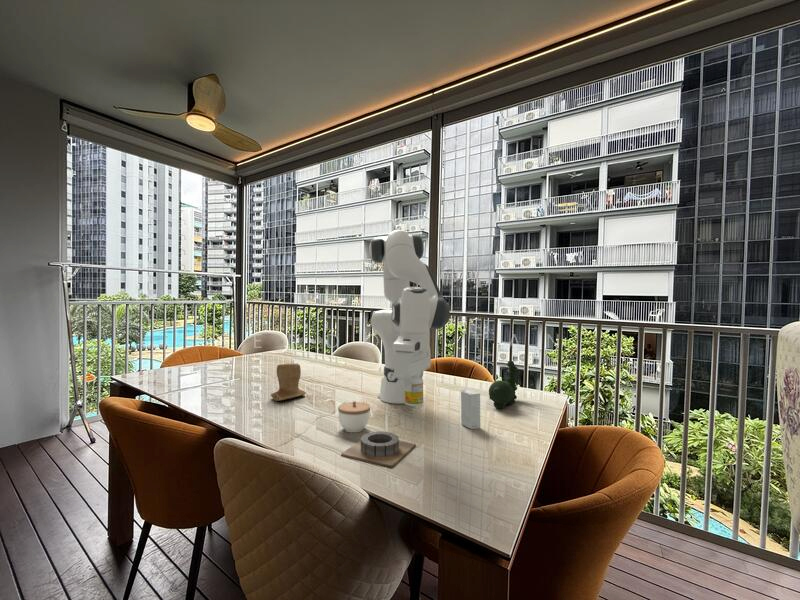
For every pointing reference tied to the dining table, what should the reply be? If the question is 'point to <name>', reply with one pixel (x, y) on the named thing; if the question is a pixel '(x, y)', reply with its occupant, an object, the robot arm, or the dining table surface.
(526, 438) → the dining table surface
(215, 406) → the dining table surface
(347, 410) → the lidded jar
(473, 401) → the skincare box
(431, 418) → the dining table surface
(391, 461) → the grey ring on slab
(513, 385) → the toy figurine
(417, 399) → the supplement bottle
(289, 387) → the brown flared stand
